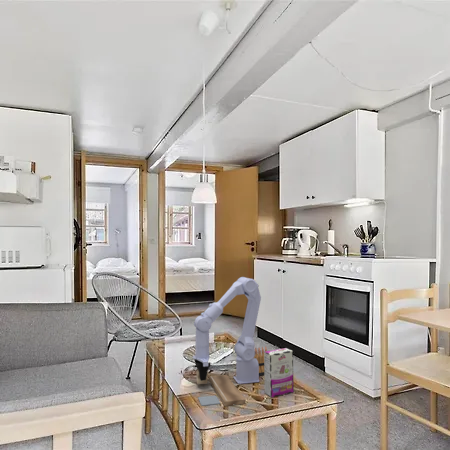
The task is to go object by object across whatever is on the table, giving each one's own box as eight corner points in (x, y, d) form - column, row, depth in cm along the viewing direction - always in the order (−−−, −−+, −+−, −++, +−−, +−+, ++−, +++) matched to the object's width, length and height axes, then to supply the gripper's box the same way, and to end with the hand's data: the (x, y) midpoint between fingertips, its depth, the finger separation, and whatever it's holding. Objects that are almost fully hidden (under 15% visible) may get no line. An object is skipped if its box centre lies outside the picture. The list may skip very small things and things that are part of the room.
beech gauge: (205, 380, 151) (205, 366, 152) (207, 383, 149) (207, 368, 149) (196, 381, 150) (196, 366, 151) (197, 384, 148) (198, 369, 148)
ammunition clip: (251, 377, 159) (248, 348, 162) (249, 377, 160) (246, 348, 164) (272, 373, 163) (268, 345, 167) (270, 373, 165) (266, 346, 169)
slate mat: (215, 396, 139) (215, 395, 139) (220, 403, 133) (220, 402, 133) (197, 398, 137) (197, 397, 137) (201, 406, 131) (201, 405, 131)
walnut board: (226, 378, 158) (226, 374, 158) (245, 403, 133) (245, 399, 133) (208, 380, 155) (208, 376, 156) (224, 406, 130) (224, 401, 131)
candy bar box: (286, 388, 147) (286, 347, 148) (294, 392, 143) (293, 350, 144) (263, 393, 142) (263, 351, 143) (270, 398, 138) (270, 354, 139)
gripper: (189, 341, 156) (189, 373, 156) (196, 351, 142) (195, 386, 142) (205, 340, 158) (205, 371, 157) (213, 349, 144) (213, 384, 143)
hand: (202, 378), depth 150 cm, fingers closed on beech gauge, 3 cm apart
